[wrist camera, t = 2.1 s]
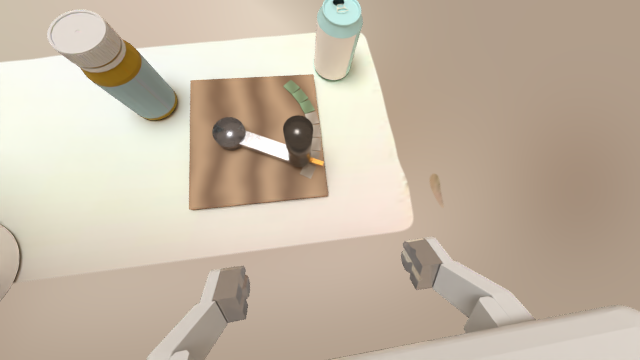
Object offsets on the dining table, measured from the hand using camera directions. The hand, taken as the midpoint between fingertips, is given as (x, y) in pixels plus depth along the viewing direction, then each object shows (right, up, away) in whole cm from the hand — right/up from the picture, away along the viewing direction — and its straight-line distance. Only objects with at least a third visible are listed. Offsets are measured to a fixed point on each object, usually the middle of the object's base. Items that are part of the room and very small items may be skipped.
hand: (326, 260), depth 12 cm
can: (+2, +26, +33) cm, 43 cm away
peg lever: (-9, +9, +27) cm, 30 cm away
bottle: (-29, +18, +29) cm, 45 cm away
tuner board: (-11, +11, +29) cm, 33 cm away
